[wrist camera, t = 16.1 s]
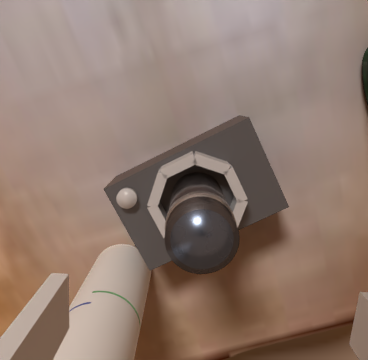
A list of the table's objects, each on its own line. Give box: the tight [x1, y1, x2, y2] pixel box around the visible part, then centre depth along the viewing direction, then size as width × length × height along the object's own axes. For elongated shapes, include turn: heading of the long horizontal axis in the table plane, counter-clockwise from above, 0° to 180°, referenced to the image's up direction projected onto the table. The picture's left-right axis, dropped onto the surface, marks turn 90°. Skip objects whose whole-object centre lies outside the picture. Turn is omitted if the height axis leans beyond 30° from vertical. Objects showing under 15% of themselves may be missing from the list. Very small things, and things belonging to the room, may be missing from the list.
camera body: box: [104, 116, 289, 271], centre depth 36 cm, size 16×10×8 cm, turn 116°
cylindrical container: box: [53, 244, 151, 360], centre depth 30 cm, size 7×7×25 cm
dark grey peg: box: [165, 172, 239, 274], centre depth 29 cm, size 5×5×11 cm
